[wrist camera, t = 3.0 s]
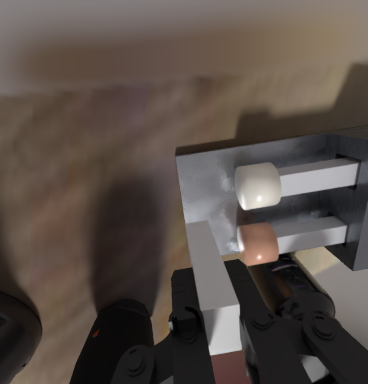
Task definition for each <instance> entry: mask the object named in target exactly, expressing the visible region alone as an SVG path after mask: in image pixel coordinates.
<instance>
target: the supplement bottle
mask: <svg viewBox="0 0 368 384" xmlns="http://www.w3.org/2000/svg"><path fill="white" fill-rule="evenodd" d="M248 271H249V273H250V275H251V277H252V279H253V281H254V283H255V285H256V286H257V288H258V290H259V292H260V294H261V296H262V298H263V300H264V302H265V304H266V306H267V307H268V308H269V309H270V310H271V311H272V312H274V314H276V315H277V316H280V317H282V318H286V319H292V320H299V321H303V319H304V317H305V316H307V315H308V314H312V313H318V314H323V315H325V316H328V317H330V318H331V319H333V320H334V321H336V322H337V323H338V324H339V325H340V326H341V324H340V323H339V321H338V320H337V319H336V318H335V313H336V311H335V305H334V302H333V300H332V299H331V297H330V296H329V295H328V293H327V292H326V291H325V290H324V289H323V288H322V286H321V285H320V284H319V283H318V282H317V281H316V279H315V278H314V277H313V276H312V275H311V274H310V273H309V271H308V270H307V269H306V268H305V267H304V266H303V264H302V263H301V262H300V261H299V260H298V259H297V258H296V256H295V255H294V254H293V253H292V252H288V253H282V254H279V257H278V259H277V261H273V262H267V263H262V264H256V265H251V266H248ZM341 327H342V326H341ZM342 328H343V327H342Z"/></svg>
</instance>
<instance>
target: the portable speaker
mask: <svg viewBox="0 0 368 384" xmlns="http://www.w3.org/2000/svg"><path fill="white" fill-rule="evenodd" d="M135 345H145V346H148V347H149V348H150V347H152V346H154V339H153V330H152V323H151V320H150V317H149V315H148V312H147V310H146V308H145V306H144V305H143V304H141V303H139V302H137V301H133V300H122V301H121V302H120V303H118V304H117V305H115V306H113V307H111V308H108V309H106V310H104V311H103V312H99V315H98V317H97V318H96V320H95V322H94V324H93V326H92V328H91V331H90V333H89V335H88V338H87V340H86V342H85V344H84V347H83V349H82V351H81V353H80V356H79V358H78V360H77V362H76V365H75V368H74V371H73V374H72V377H71V380H70V383H69V384H110V383H111V380H112V378H113V375H114V372H115V370H116V367H117V365H118V362H119V360H120V359H121V357H122V355H123V354H124V353H125V352H126V351H127V350H128V349H129V348H131V347H133V346H135Z"/></svg>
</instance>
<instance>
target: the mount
mask: <svg viewBox="0 0 368 384" xmlns="http://www.w3.org/2000/svg"><path fill="white" fill-rule="evenodd" d="M346 157H353V158H357V159H360V160H362V162H361V167H360V172H359V178H358V183H357V184H355V185H349V186H343V187H337V188H331V189H325V190H319V191H313V192H307V193H301V194H295V195H289V196H283V197H281V199H280V201H279V203H278V204H277V205H273V206H267V207H261V208H255V209H249V210H244V209H243V208H242V207H241V205H240V203H239V201H238V198H237V195H236V190H235V181H234V177H235V171H236V168H237V167H240V166H247V165H253V164H259V163H265V162H270V163H272V164H273V165H274V166H275V167H276V169H277V168H284V167H290V166H296V165H302V164H309V163H315V162H321V161H327V160H333V159H340V158H346ZM175 159H176V165H177V172H178V178H179V185H180V192H181V198H182V205H183V212H184V218H185V224H186V223H192V222H198V221H204V220H208V223H209V225H210V228H211V231H212V233H213V236H214V239H215V241H216V244H217V247H218V249H219V252H220V254H221V255H226V254H232V253H238V252H240V250H239V246H238V240H237V228H238V227H239V226H243V225H249V224H255V223H261V222H267V223H268V224H269V225H270V226H271V227H272V226H278V225H284V224H290V223H295V222H301V221H307V220H313V219H319V218H324V217H330V216H337V217H339V218H340V219H342V220H344V221H345V222H347V223H348V224H350V226H349V232H348V237H347V242H344V243H338V244H333V245H327V246H324V247H325V248H326V249H327V250H329V251H330V252H331V253H332V254H333V255H334V256H336V257H337V258H338V259H339V260H340V261H341V262H343V263H344V264H345V265H346V266H347V267H348V268H350V269H351V270H352V271H357V270H363V269H368V125H367V126H361V127H354V128H348V129H341V130H335V131H328V132H322V133H315V134H309V135H302V136H296V137H289V138H283V139H276V140H270V141H263V142H257V143H250V144H244V145H238V146H231V147H225V148H218V149H212V150H205V151H199V152H192V153H186V154H179V155H175Z"/></svg>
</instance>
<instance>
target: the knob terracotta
mask: <svg viewBox="0 0 368 384" xmlns="http://www.w3.org/2000/svg"><path fill="white" fill-rule="evenodd" d="M349 226H350V224H348V223H347V222H345V221H344V220H342V219H340V218H339V217H337V216H330V217H324V218H319V219H313V220H307V221H301V222H295V223H290V224H284V225H278V226H272V227H271V226H270V225H269V224H268V223H267V222H261V223H255V224H249V225H243V226H239V227H238V228H237V240H238V246H239V250H240V253H241V256H242V258H243V260H244V262H245V264H246V265H247V266H251V265H256V264H262V263H267V262H273V261H277V259H278V257H279V254H282V253H288V252H294V251H299V250H305V249H310V248H316V247H322V246H327V245H333V244H338V243H344V242H347V237H348V232H349Z"/></svg>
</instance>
